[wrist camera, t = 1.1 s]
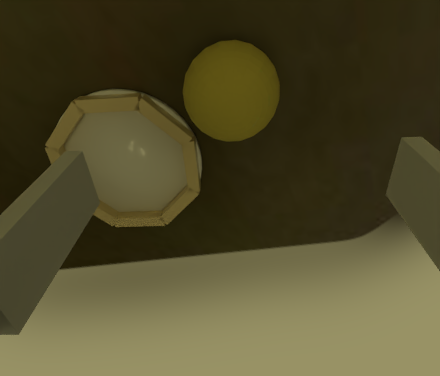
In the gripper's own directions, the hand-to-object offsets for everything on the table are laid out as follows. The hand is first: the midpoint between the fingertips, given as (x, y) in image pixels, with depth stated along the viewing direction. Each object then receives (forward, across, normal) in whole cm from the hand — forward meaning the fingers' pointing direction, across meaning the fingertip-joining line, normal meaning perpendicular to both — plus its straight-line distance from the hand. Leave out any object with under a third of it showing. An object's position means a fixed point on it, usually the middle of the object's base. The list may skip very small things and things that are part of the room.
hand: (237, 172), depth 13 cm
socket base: (+17, -11, -8) cm, 22 cm away
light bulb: (+17, 0, 0) cm, 17 cm away
